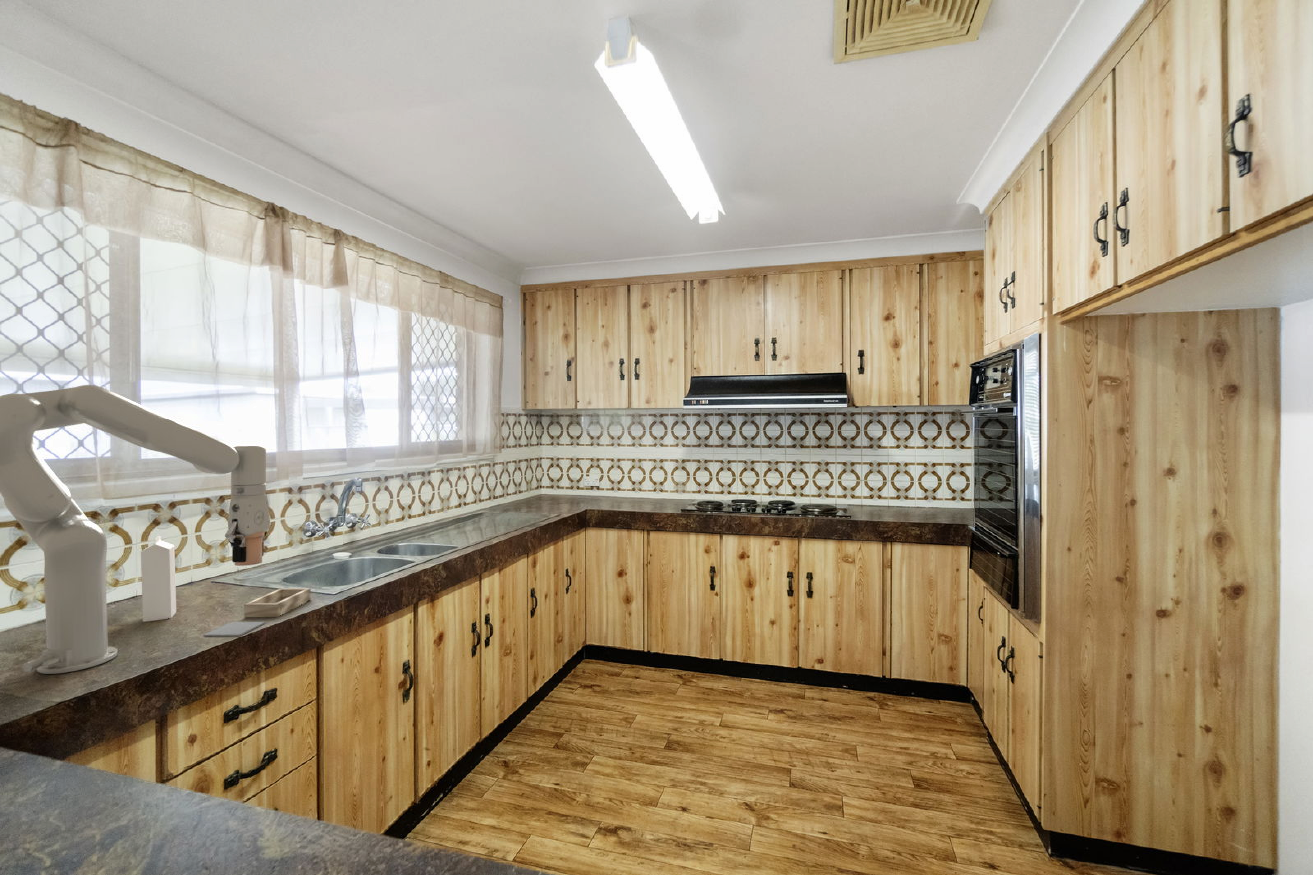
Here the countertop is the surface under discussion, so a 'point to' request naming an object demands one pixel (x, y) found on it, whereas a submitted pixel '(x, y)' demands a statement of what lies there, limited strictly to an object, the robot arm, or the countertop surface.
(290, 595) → the wooden tray
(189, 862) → the countertop surface
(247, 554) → the pot
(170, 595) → the milk
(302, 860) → the countertop surface
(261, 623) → the mat
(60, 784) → the countertop surface
